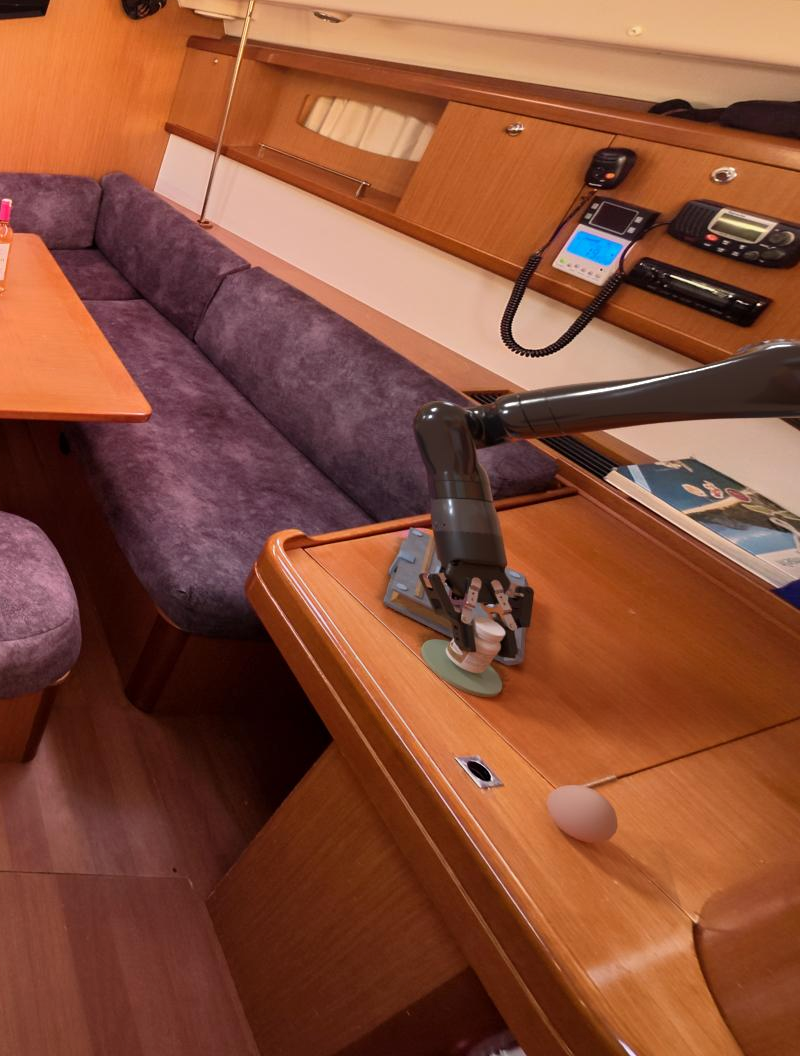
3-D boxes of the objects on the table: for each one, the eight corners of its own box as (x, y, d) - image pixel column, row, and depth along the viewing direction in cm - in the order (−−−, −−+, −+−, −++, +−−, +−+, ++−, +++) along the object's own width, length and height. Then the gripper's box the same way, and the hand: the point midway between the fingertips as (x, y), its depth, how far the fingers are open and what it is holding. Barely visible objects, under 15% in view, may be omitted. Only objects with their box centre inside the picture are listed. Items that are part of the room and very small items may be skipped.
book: (514, 671, 93) (532, 649, 91) (378, 603, 104) (391, 582, 101) (519, 595, 106) (535, 574, 104) (398, 542, 117) (410, 522, 115)
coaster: (497, 666, 94) (499, 663, 93) (502, 710, 88) (505, 706, 87) (420, 632, 99) (422, 628, 99) (420, 671, 93) (422, 667, 92)
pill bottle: (440, 643, 95) (464, 608, 92) (477, 654, 94) (502, 620, 90) (450, 666, 92) (475, 631, 88) (488, 679, 90) (516, 643, 87)
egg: (571, 808, 76) (603, 777, 73) (611, 858, 72) (646, 826, 69) (524, 800, 77) (554, 768, 74) (560, 848, 72) (593, 817, 69)
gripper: (434, 524, 92) (453, 650, 87) (543, 538, 90) (570, 668, 85) (396, 526, 99) (412, 642, 94) (496, 539, 97) (518, 658, 92)
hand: (487, 653), depth 89 cm, fingers closed on pill bottle, 4 cm apart
